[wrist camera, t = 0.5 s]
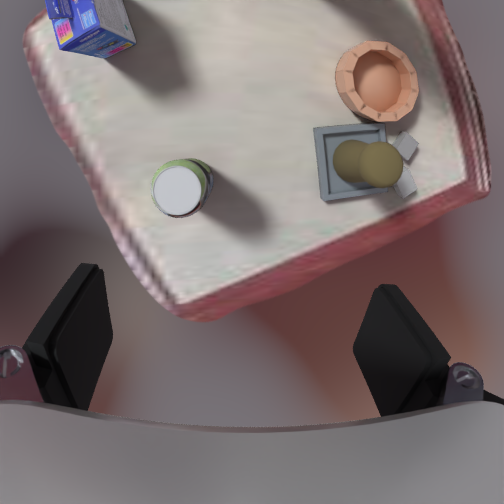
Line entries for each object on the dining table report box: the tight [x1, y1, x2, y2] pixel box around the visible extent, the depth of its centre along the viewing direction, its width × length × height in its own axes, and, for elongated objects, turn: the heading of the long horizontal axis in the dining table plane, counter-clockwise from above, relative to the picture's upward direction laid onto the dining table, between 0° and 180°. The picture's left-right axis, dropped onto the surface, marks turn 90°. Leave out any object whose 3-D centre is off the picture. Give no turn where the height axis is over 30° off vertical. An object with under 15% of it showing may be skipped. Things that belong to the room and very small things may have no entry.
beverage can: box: [151, 158, 213, 218], centre depth 35 cm, size 6×7×12 cm
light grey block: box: [393, 166, 417, 198], centre depth 42 cm, size 4×3×2 cm
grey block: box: [392, 131, 419, 160], centre depth 40 cm, size 3×3×2 cm
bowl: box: [335, 41, 419, 122], centre depth 34 cm, size 11×11×4 cm
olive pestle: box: [333, 139, 403, 188], centre depth 35 cm, size 6×6×11 cm
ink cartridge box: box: [45, 0, 136, 58], centre depth 23 cm, size 10×6×14 cm, turn 18°
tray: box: [313, 123, 388, 201], centre depth 40 cm, size 10×10×2 cm
